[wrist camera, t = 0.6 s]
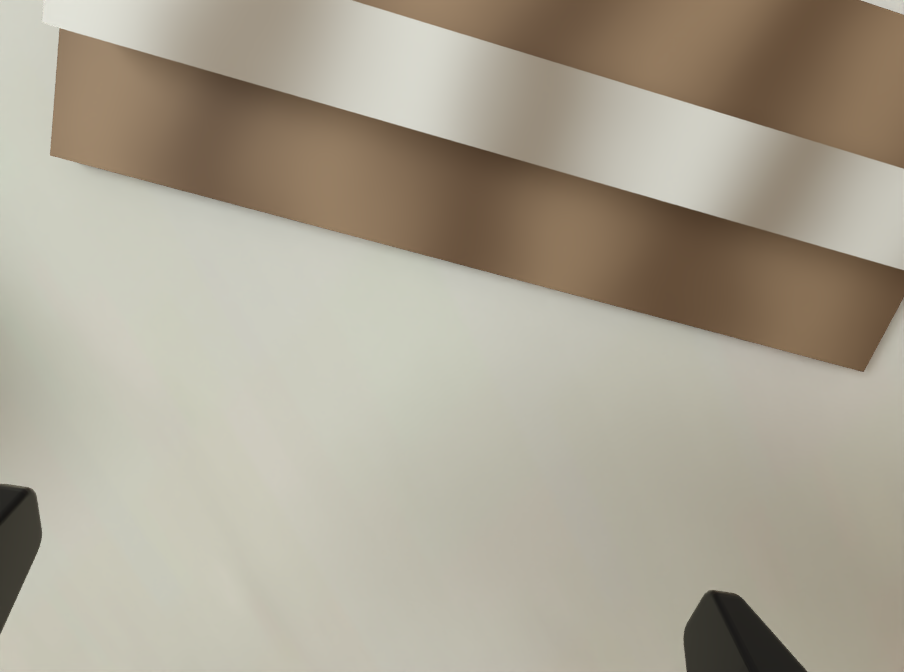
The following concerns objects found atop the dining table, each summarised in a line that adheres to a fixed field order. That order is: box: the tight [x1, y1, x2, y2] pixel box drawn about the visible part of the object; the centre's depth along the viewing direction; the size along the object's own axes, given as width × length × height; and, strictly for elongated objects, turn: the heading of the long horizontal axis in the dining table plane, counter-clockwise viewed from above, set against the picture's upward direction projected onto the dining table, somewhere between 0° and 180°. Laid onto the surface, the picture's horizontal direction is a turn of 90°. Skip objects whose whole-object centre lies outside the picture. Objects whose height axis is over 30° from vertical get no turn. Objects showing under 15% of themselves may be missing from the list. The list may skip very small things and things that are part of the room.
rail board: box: [42, 0, 904, 372], centre depth 19 cm, size 26×10×4 cm, turn 74°
